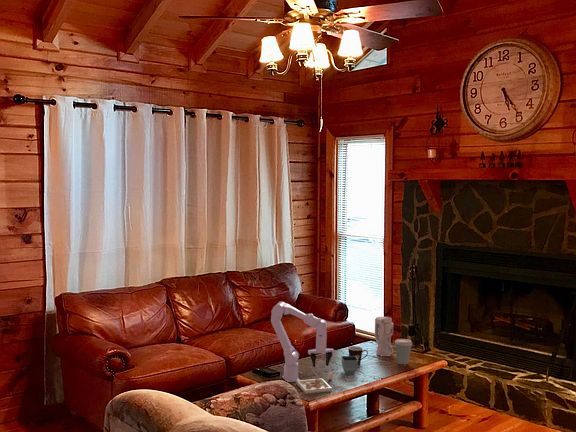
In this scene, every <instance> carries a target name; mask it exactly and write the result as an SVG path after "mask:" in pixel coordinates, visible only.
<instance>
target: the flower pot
mask: <svg viewBox="0 0 576 432" xmlns="http://www.w3.org/2000/svg"><path fill="white" fill-rule="evenodd" d="M340 359H341V366H342V370H343V372H344V374H345V375H355V374H356V372H357V370H358V367H359V366H358V359H357V357H356V356H349V355H341V357H340Z"/></svg>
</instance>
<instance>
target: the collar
mask: <svg viewBox="0 0 576 432" xmlns="http://www.w3.org/2000/svg"><path fill="white" fill-rule="evenodd" d="M314 379H315V382H306V385H307V386H308V387H310V388H317V389H318V388H320V387H323V384H322V383H320V380H319V379H320V378H314Z"/></svg>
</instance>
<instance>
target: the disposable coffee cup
mask: <svg viewBox="0 0 576 432" xmlns="http://www.w3.org/2000/svg"><path fill="white" fill-rule="evenodd" d="M394 344H395V346H394V347H395V357H396V363H399V364H407V363H408V364H409V360H410V359H409V358H410V355H411V349H412V346H413V342H412V340H410V339H406V338H398V339H395V340H394ZM399 364H398V365H399ZM408 364H407V365H408Z"/></svg>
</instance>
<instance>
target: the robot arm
mask: <svg viewBox="0 0 576 432" xmlns="http://www.w3.org/2000/svg"><path fill="white" fill-rule="evenodd" d="M283 315H284V316H285V315H292V316H294V317H296V318H298V319H300V320H302V321H303V322H304V324H306V325H308V326H310V327H311V328H314V329H315V330H316V334H315V335H316V336H315V348H313V349H308V350H307V354H308V355H309V356H310V359H311V363H312V367H314V368H316V359H317V356H316V355H317V354H325V366H327V367H328V366H329V364H330V361H331V359H332V357H333V355H334V352H335V349H334V348H327V338H328V337H327V335H328V334H327V332H328V331H327V329H328V322H327V321H326V320H325V319H323V318H320V317H319V318H318V317H316V316H314V314H313V313H304V312H303V311H301V310H299V309H297V308H296V307H294V306H292V305H291V304H289V303H286V302H285V301H278V302H277V303H276V304H275V305H274V306H273V307H272V309H271V316H270V323H271V325H272V327H273V329H274V332H275V334H276V336H277V338H278V341H279V343H280V344H281V347H282V349H283V357H284V362H285V363H284V365H283V375H282V376H281V377H282V378H283V379H284V381H285V382H286V381H287V382H286V383H293V382H294V383H295V382H297V380H301V379H300V378H299V362H298V360H299V357H300V353H299V352H298V351H297V350H296V349H295V347H294V346H293V345H292V343H291V341H290V339H289V336H288V334H287V331H286V330H285V327H284V325H283V323H282V321H281V319H282V317H283Z"/></svg>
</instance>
